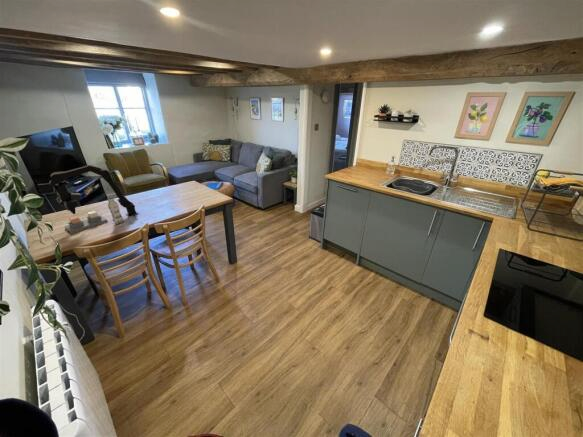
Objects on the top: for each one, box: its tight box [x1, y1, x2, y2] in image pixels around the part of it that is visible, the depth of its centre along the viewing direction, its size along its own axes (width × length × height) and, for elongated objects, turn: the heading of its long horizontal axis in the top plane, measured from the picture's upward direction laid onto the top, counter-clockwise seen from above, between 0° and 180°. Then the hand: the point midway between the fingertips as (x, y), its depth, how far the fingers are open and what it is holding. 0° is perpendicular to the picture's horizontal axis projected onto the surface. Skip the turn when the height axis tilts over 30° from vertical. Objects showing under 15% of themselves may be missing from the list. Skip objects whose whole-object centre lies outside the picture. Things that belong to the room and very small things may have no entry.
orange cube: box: [68, 215, 81, 224], centre depth 167 cm, size 4×4×4 cm
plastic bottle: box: [107, 197, 124, 225], centre depth 174 cm, size 6×7×20 cm
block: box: [64, 214, 109, 234], centre depth 173 cm, size 12×22×5 cm, turn 147°
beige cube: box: [87, 210, 99, 218], centre depth 175 cm, size 4×4×4 cm
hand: (71, 212), depth 165 cm, fingers open, 9 cm apart
